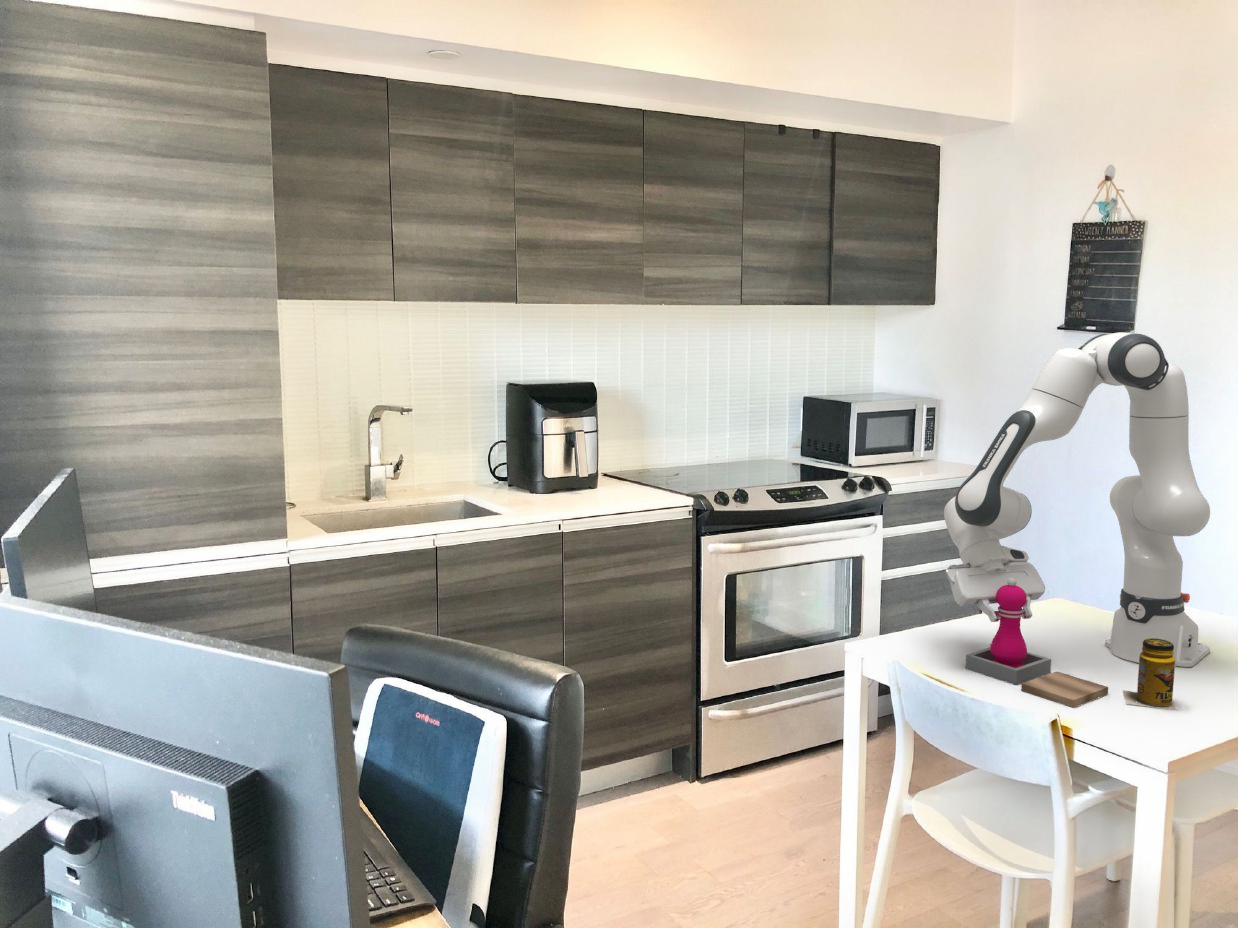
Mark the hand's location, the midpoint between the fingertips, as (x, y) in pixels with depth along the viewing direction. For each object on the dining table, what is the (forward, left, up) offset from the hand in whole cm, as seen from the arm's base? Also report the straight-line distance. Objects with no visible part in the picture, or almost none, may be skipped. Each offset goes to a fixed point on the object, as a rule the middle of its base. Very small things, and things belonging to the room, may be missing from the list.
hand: (1012, 619), depth 207 cm
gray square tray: (0, -1, -11) cm, 11 cm away
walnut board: (+2, +13, -11) cm, 18 cm away
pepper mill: (0, -1, -12) cm, 12 cm away
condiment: (-7, +25, -12) cm, 29 cm away
